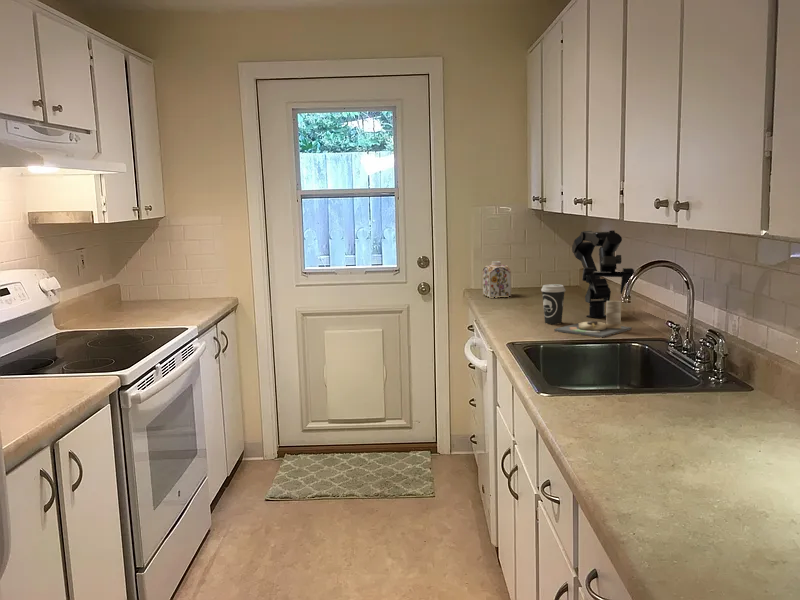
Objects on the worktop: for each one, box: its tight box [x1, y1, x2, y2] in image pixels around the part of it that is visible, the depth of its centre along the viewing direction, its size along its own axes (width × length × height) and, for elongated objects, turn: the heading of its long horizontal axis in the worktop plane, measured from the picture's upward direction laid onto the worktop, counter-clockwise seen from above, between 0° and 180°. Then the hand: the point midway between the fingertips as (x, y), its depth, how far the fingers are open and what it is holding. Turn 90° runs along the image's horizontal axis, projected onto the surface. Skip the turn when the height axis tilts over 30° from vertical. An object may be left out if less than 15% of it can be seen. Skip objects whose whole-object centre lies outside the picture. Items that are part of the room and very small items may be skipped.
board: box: [554, 322, 632, 338], centre depth 257 cm, size 20×20×1 cm
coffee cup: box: [540, 283, 567, 325], centre depth 274 cm, size 10×10×15 cm
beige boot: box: [578, 300, 622, 330], centre depth 253 cm, size 15×13×10 cm
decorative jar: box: [482, 260, 512, 297], centre depth 351 cm, size 12×12×18 cm
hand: (608, 293), depth 261 cm, fingers open, 9 cm apart
